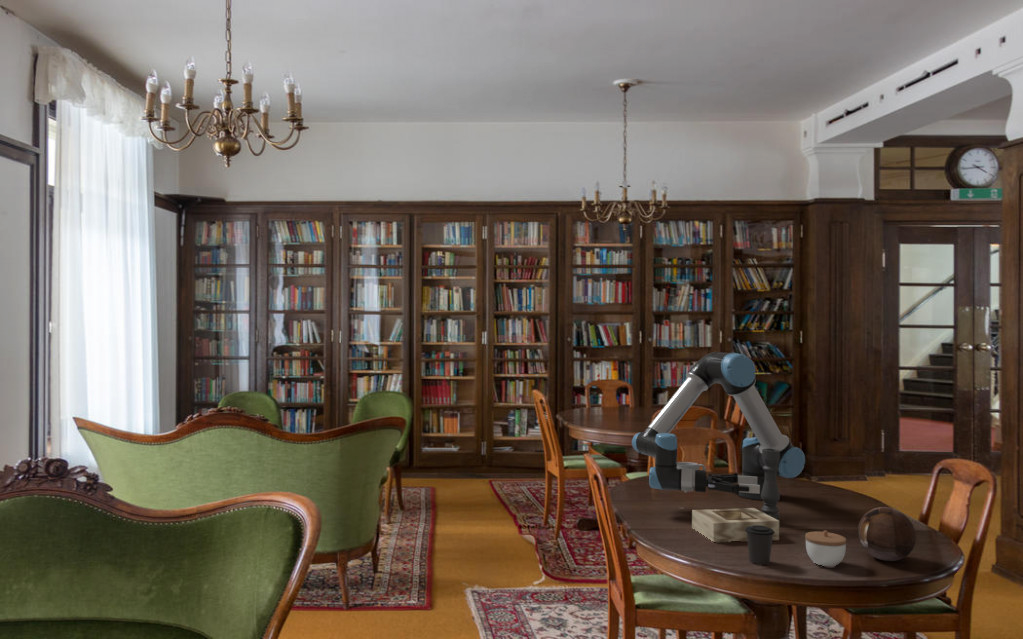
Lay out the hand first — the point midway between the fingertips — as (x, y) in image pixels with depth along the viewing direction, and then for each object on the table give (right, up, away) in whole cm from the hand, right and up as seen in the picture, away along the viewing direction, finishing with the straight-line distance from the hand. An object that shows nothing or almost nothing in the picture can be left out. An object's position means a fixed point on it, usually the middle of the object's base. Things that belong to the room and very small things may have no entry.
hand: (758, 485), depth 250 cm
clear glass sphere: (+24, -13, -38) cm, 47 cm away
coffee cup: (-14, -13, -41) cm, 45 cm away
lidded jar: (+5, -13, -42) cm, 44 cm away
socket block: (-12, -13, -13) cm, 22 cm away
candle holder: (+4, -13, -1) cm, 14 cm away
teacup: (-8, -13, +63) cm, 65 cm away
